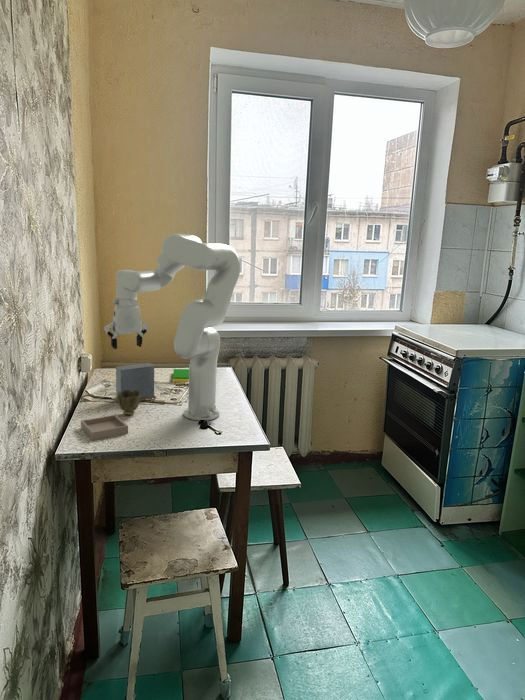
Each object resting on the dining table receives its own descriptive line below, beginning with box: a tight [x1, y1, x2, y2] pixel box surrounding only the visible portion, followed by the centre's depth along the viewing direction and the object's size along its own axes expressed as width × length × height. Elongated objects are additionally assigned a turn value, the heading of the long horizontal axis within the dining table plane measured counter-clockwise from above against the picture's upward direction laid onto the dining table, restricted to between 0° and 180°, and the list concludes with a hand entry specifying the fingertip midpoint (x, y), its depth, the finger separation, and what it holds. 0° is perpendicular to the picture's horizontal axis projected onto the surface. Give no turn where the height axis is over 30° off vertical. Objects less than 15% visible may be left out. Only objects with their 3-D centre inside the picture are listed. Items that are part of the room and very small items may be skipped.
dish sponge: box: [171, 368, 189, 383], centre depth 216 cm, size 7×14×2 cm, turn 8°
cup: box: [118, 390, 140, 417], centre depth 167 cm, size 8×7×8 cm
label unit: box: [114, 362, 157, 404], centre depth 182 cm, size 6×14×13 cm, turn 126°
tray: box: [80, 414, 129, 441], centre depth 153 cm, size 11×11×2 cm
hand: (126, 347), depth 186 cm, fingers open, 9 cm apart
